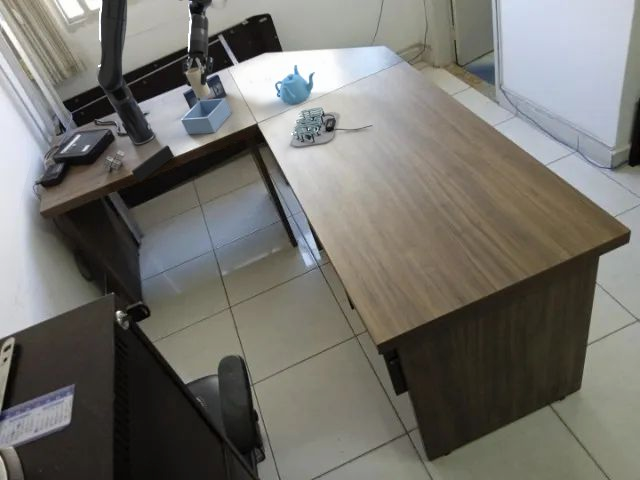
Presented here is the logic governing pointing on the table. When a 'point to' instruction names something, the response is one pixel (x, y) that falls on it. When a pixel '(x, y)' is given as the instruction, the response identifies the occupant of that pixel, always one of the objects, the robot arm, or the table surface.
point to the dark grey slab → (153, 163)
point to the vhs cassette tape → (215, 93)
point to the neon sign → (315, 128)
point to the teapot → (294, 88)
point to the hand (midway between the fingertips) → (196, 85)
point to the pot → (197, 82)
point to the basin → (206, 116)
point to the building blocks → (113, 161)
